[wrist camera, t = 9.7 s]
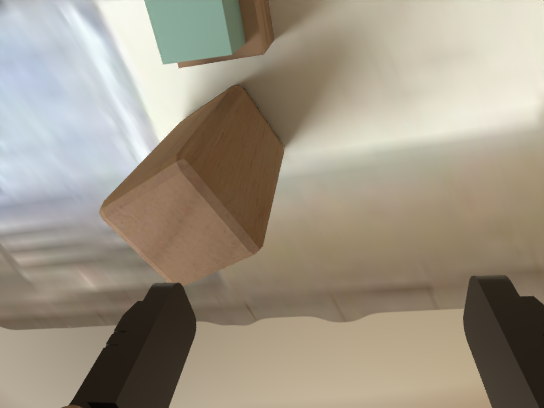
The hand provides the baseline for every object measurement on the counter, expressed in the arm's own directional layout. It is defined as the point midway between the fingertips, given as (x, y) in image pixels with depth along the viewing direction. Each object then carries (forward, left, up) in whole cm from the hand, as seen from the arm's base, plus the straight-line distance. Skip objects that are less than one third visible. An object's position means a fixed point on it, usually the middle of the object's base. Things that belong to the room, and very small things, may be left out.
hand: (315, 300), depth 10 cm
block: (+12, +7, -34) cm, 37 cm away
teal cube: (+9, -7, -26) cm, 28 cm away
